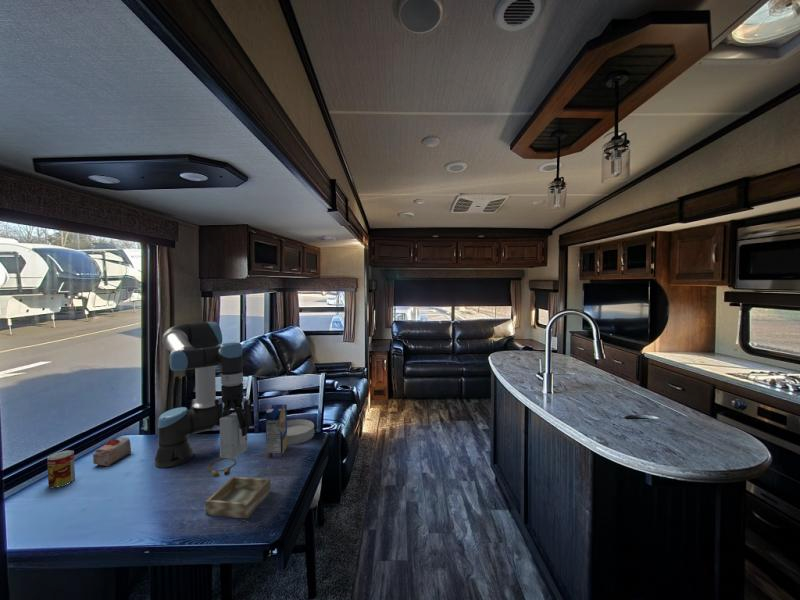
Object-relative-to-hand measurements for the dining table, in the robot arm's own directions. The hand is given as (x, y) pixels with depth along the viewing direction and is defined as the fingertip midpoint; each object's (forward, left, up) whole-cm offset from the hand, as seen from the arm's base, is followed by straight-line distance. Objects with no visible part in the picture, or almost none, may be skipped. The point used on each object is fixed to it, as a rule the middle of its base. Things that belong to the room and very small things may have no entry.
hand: (233, 443), depth 130 cm
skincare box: (0, 0, -4) cm, 4 cm away
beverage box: (-2, +37, -22) cm, 44 cm away
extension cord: (-21, +21, -23) cm, 37 cm away
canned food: (-79, +1, -22) cm, 82 cm away
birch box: (+3, -2, -22) cm, 22 cm away
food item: (-76, +21, -22) cm, 82 cm away
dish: (-2, +56, -23) cm, 61 cm away
